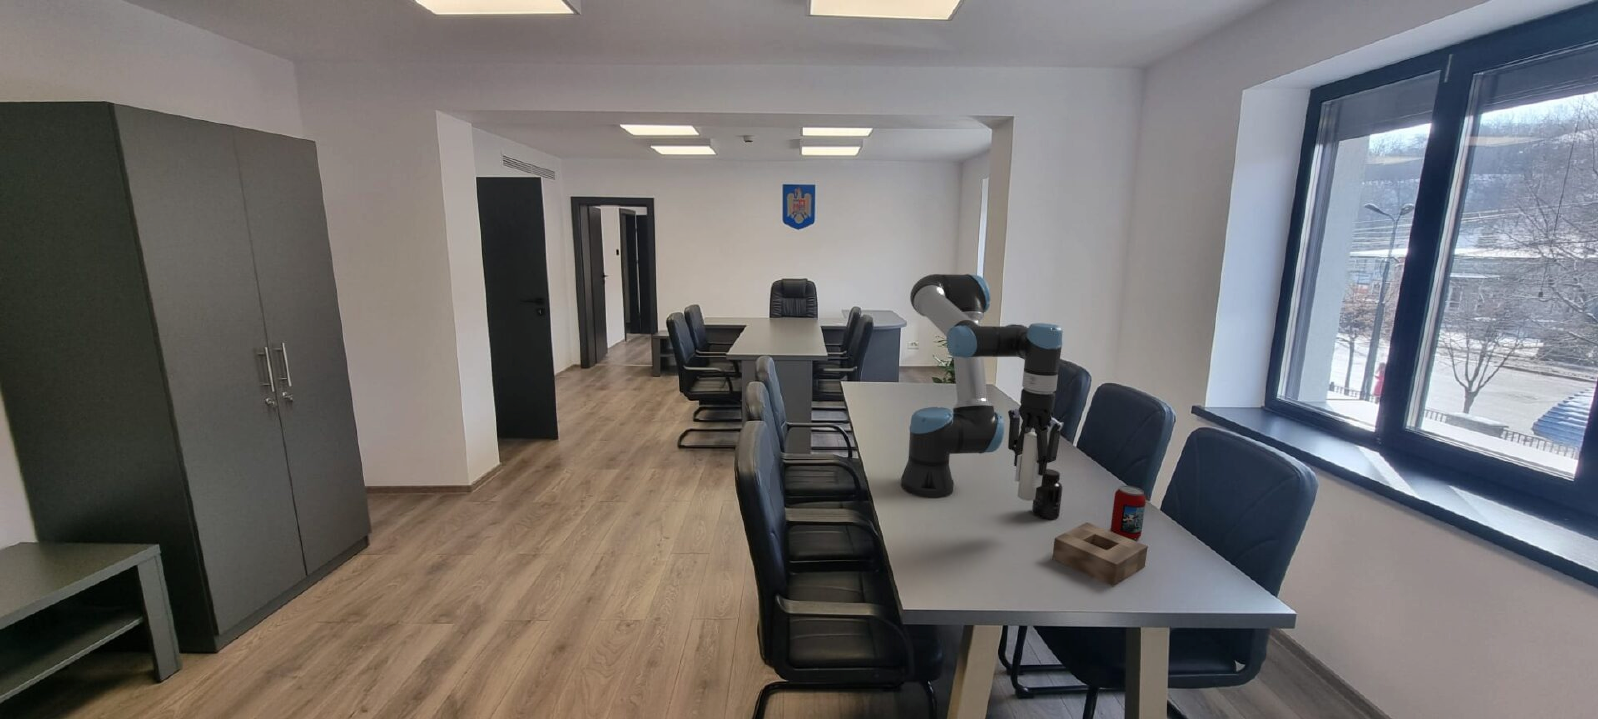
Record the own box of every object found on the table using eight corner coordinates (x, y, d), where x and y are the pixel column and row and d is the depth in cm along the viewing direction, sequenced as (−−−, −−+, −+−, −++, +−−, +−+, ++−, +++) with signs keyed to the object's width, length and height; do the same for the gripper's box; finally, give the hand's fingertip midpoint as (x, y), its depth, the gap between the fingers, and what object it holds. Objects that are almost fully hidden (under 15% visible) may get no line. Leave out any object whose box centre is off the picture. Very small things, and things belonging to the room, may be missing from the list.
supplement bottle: (1061, 521, 157) (1066, 477, 154) (1034, 518, 158) (1038, 475, 156) (1056, 510, 163) (1060, 468, 161) (1029, 507, 165) (1034, 466, 162)
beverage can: (1129, 543, 146) (1135, 497, 143) (1104, 531, 151) (1109, 486, 149) (1146, 538, 149) (1153, 492, 146) (1121, 526, 154) (1127, 482, 152)
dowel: (1014, 496, 147) (1021, 433, 144) (1023, 492, 149) (1030, 430, 146) (1029, 502, 144) (1036, 438, 141) (1038, 498, 146) (1045, 435, 143)
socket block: (1052, 558, 138) (1054, 537, 137) (1084, 541, 146) (1086, 522, 145) (1113, 586, 127) (1116, 564, 126) (1144, 566, 135) (1147, 545, 134)
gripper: (997, 384, 146) (988, 474, 150) (1064, 400, 132) (1051, 499, 137) (1016, 380, 150) (1006, 468, 155) (1082, 396, 137) (1069, 492, 142)
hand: (1028, 482), depth 146 cm, fingers closed on dowel, 4 cm apart
